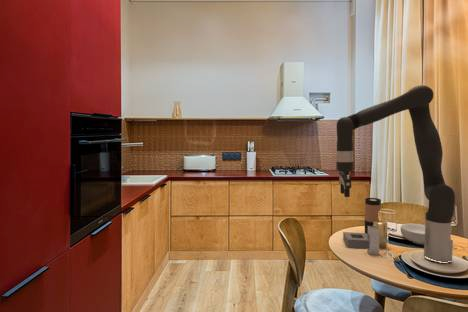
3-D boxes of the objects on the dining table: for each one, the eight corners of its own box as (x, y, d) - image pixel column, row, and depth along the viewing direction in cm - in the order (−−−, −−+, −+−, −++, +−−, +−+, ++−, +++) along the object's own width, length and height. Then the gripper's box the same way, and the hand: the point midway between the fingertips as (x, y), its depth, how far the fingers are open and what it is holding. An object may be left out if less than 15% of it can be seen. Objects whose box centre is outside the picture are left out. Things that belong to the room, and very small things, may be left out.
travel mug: (361, 234, 162) (362, 198, 161) (373, 233, 164) (374, 197, 162) (370, 239, 155) (371, 201, 153) (383, 238, 156) (384, 200, 155)
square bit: (376, 251, 138) (376, 226, 137) (378, 255, 134) (379, 229, 133) (367, 251, 139) (367, 226, 138) (369, 254, 135) (370, 228, 134)
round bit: (384, 244, 147) (385, 220, 146) (388, 249, 141) (389, 224, 140) (371, 244, 148) (372, 220, 147) (374, 248, 142) (375, 223, 141)
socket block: (365, 240, 153) (365, 233, 152) (371, 248, 142) (372, 240, 142) (343, 239, 155) (343, 232, 154) (347, 247, 144) (347, 239, 143)
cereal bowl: (420, 249, 140) (420, 235, 140) (392, 238, 156) (392, 224, 156) (448, 246, 145) (448, 231, 144) (418, 235, 161) (419, 222, 160)
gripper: (357, 161, 132) (357, 198, 133) (349, 159, 146) (349, 192, 147) (339, 162, 133) (339, 198, 134) (333, 159, 147) (333, 192, 148)
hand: (344, 195), depth 140 cm, fingers open, 8 cm apart
